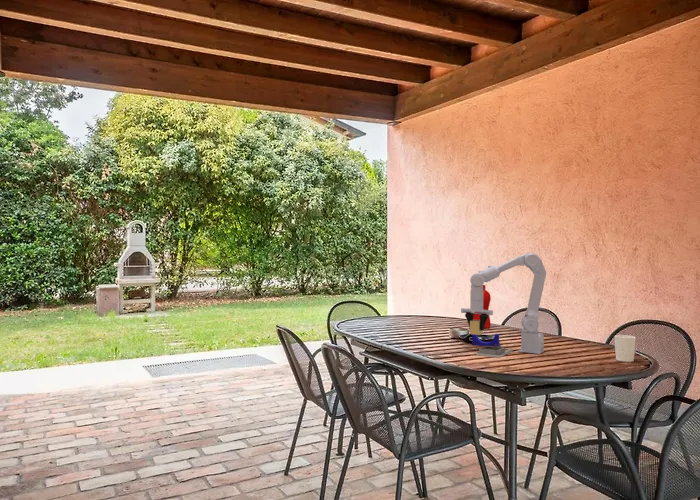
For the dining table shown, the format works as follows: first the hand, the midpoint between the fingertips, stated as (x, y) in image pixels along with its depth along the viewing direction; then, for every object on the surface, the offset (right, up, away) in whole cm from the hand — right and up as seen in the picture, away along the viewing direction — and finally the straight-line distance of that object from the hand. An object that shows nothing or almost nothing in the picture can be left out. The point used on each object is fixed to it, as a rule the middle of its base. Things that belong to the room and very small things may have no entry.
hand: (476, 329), depth 256 cm
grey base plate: (+6, -9, -9) cm, 14 cm away
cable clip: (+7, -9, +11) cm, 16 cm away
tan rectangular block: (0, -2, 0) cm, 2 cm away
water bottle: (+17, -9, +68) cm, 70 cm away
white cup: (+57, -10, -21) cm, 62 cm away
